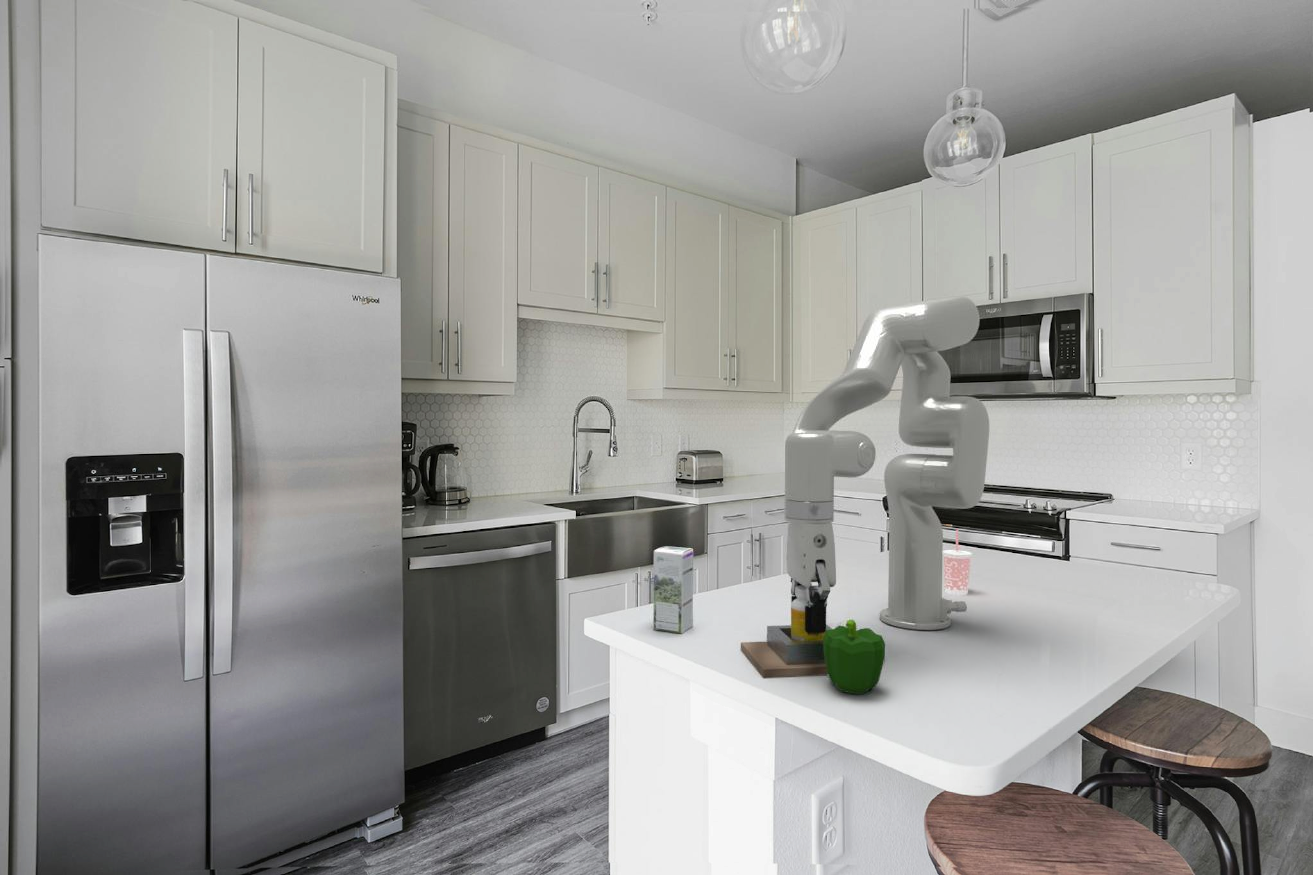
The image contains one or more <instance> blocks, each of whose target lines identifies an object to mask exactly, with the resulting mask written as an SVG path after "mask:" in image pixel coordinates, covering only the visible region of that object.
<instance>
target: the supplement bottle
mask: <svg viewBox="0 0 1313 875" xmlns="http://www.w3.org/2000/svg"><path fill="white" fill-rule="evenodd" d="M811 586H813V584H812V585H811ZM815 592H818V590H812V597H813V595H814V593H815ZM795 595H796V597H797V599H795V600H793V602H792V603H791V604H790V625H791V640H792V641H793V642H794V641H820V640H823V637H824V635H825V632H826V631H825V632H822V633H807V632H806V631H805V606H808V605H807V596H806V587H805V586H803V585H800V586H796V587H795ZM795 595H794V596H795Z"/></svg>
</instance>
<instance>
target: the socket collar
mask: <svg viewBox="0 0 1313 875" xmlns="http://www.w3.org/2000/svg"><path fill="white" fill-rule="evenodd" d="M833 629H834V628H832V627H830V626H829V625H828V624H827V623H826V630H833ZM766 641H767V645H768V646H769V647H770V648H771V649H772V650H773V651H774V652H775V653H776V654H777V655H778V656H779V657H780V659H781V660H782V661H783V662H784V663H785V664H786V665H797V664H821V663H825V657H824V652H823V640H820V641H794V642H793V641H792V640H791V624H788V625H786V624H785V625H767V627H766Z"/></svg>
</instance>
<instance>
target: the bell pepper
mask: <svg viewBox="0 0 1313 875" xmlns="http://www.w3.org/2000/svg"><path fill="white" fill-rule="evenodd" d="M832 629H833V630H826V632H825V635H824V637H823V652H824V657H825V663H826V667H827V672H828V675H827V676H828V678H829V681H830V682H831V683H832V685H833V686H836V688H837V689H839V690H840V691H841V692H846V693H848V694H857V695H858V694H859V695H860V694H862V693H866V692H868V690H872V689H875V687H876V686H877V684H878V683H879V680H880V677H881V674H882V670H883V667H884V663H885V658H886V657H885V655H886V642H885V641H884V637H883V636H882V635H881V634H877V633H876V632H875V631H874V630H872V629H871V628H870V627H869V628H867V627H864V628H860V629H857V622H856V621H855V620H854V619H849V620H847V621H846V623H845V626H844V625H841V624H840V625H838V626H837V627H835V628H832Z"/></svg>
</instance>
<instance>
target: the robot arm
mask: <svg viewBox="0 0 1313 875" xmlns="http://www.w3.org/2000/svg"><path fill="white" fill-rule="evenodd" d="M979 327H980V313H979V309H978V307H977V306H976V303H974V301H972V299H970V298H968V297H966V296H953V297H946V298H945V297H944V298H938V299H931V300H923V301H922V300H921V301H914V302H913V301H912V302H907V303H902V304H899V305H896V306H894V305H893V306H887V307H882V308H878V309H876V310H874V311H873V312H871V313H870V314H869V315H868V316H867V317H866V319H865V320H864V322H863V324H862V326H861V329H860V331H859V334H858V336H857V338H856V341H855V343H854V345H853V348H852V350H851V352H850V356H849V357H848V359H847V361H846V364H845V368H843V369H844V370H843V372H842V374H840V375H839V376H838V377H837V378H835V379H834V380H832V381H831V382H830V383H829V384H828V385H826V386H825V387H824V388H822V389H821V391H820V392H818V393H817V394H816V395H815V396H814V397H813V398H811V400H809V402H808V403H806V404H807V405H805V407H804V408H803V410H801V413H800V414H799V417H798V419H797V422H796V424H795V426H794V428H793V430H792V433H789V435H787V437H786V439H785V443H784V444H785V445H784V521H786V522H788V525H787V535H786V536H787V538H786V540H787V541H786V571H787V575H788V577H790V583H791V586H790V587H791V588H790V595H791V596H790V599H791V601H790V602H791V603H792V602H793V600H795V599H797V597H796V595H795V587H796V586H800V585H803V586H805V587H806V596H807V605H808V606H805V631H806V632H807V633H822V632H825V631H826V624H827V607H828V598H829V595H830V593H831V588H833V587H835V586H836V585H837V571H836V570H837V569H836V568H837V567H836V566H837V565H836V562H837V561H836V546H835V544H836V543H835V535H834V529H833V522H834V521H835V518H834V516H835V514H834V513H835V511H834V510H835V509H834V508H835V506H834V505H835V502H834V501H835V498H834V497H835V496H834V495H835V491H834V489H835V478H836V477H838V478H851V479H852V478H858V477H861V476H864V475H865V474H867V473H868V472H869V471H870V470H871V469H872V468H873V466H874V464H875V461H876V458H877V454H876V447H875V445H874V443H873V441H872V440H871V438H870V437H868V436H867V435H866V434H864V433H861V432H859V431H855V430H853V431H852V430H834V429H833V430H830V429H831V428H833V425H835V424H836V423H838V422H839V421H840V420H842V419H843V418H845V417H847V416H849V415H851V414H852V413H856V412H857V411H860V410H863V409H865V408H868V407H869V406H872V405H873V404H876V403H878V402H880V401H882V400H883V399H886V398H887V397H888V395H889V394H890V392H892V388H893V386H894V383H895V380H896V378H897V375H898V372H899V369H900V367H901V369H902V386H901V387H902V388H901V397H900V407H899V408H900V410H899V417H898V434H899V438H900V440H901V441H902V442H903V443H904V444H906V445H907V446H911V447H917V448H919V447H920V448H929V449H930V448H933V449H935V448H938V449H952V454H951V455H949V454H933V453H931V454H930V453H906V454H905V453H904V454H899V455H897V456H895V457H893V458H892V459H890V461H889V462H888V463H887V464H886V466H885V469H884V475H883V478H884V479H883V480H884V482H883V483H884V488H885V493H886V494H885V495H886V500H887V505H888V506H887V507H888V508H887V509H888V518H889V519H888V520H889V521H888V525H889V528H888V535H889V536H888V600H887V606H888V607H886V608H883V609H881V610H880V611H879V619H880V620H881V621H882V622H884V623H886V624H888V625H890V626H894V627H898V628H903V629H907V630H908V629H909V630H910V629H911V630H918V631H934V630H935V631H936V630H942V629H946V628H948V627H950V626H951V625H952V622H951V620H952V619H951V617H950V616H949V615H950V614H951V613H952V612H955V613H959V612H960V613H963V612H964V613H965V612H967V609H968V607H967V603H966V602H965V601H962V600H960V601H957V600H956V601H953V600H952V599H946V598H944V597H943V558H944V556H943V551H944V550H943V549H944V548H943V547H944V546H943V545H944V542H943V541H944V531H943V526H942V523H941V521H940V519H939V517H938V515H937V513H936V512H935V510H934V509H933V507H935V508H937V507H939V508H946V509H947V508H948V509H949V508H950V509H961V510H962V509H963V510H964V509H966V510H967V509H971V508H973V507H976V506H977V505H978V504H979V502H980V501H981V500H982V497H983V493H984V490H985V482H986V474H987V473H986V472H987V462H988V461H987V460H988V453H989V452H988V449H989V438H990V420H989V419H990V417H989V413H988V410H987V408H986V406H985V404H984V403H983V402H982V401H981V400H980V399H978V398H976V397H973V396H967V395H964V396H963V395H962V396H959V395H957V396H950V393H951V392H950V390H951V389H950V388H951V376H952V374H951V370H950V368H949V365H948V364H947V361H946V360H945V359H944V358H943V356H942V355H941V354H940V353H939V352H940V351H941V352H943V351H946V350H949V349H953V348H957V347H960V346H964V345H965V344H968V343H970V342H971V341H972V340H973V339H974V337H976V335H977V332H978V330H979ZM813 583H817V585H813ZM811 585H812V586H811ZM812 590H818V592H815V593H814V595H813V597H812Z"/></svg>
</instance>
